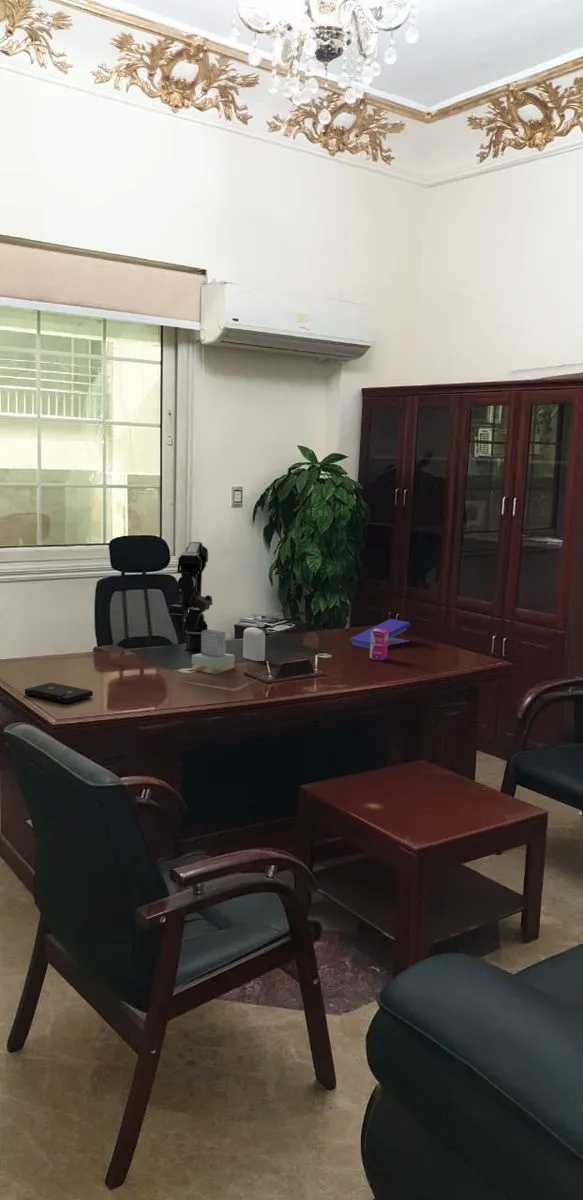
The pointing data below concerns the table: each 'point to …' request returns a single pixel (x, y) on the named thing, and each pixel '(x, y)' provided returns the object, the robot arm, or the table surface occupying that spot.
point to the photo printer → (254, 644)
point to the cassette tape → (58, 692)
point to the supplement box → (379, 644)
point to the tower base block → (212, 670)
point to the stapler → (390, 625)
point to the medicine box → (213, 643)
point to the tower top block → (213, 660)
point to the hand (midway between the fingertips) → (187, 630)
